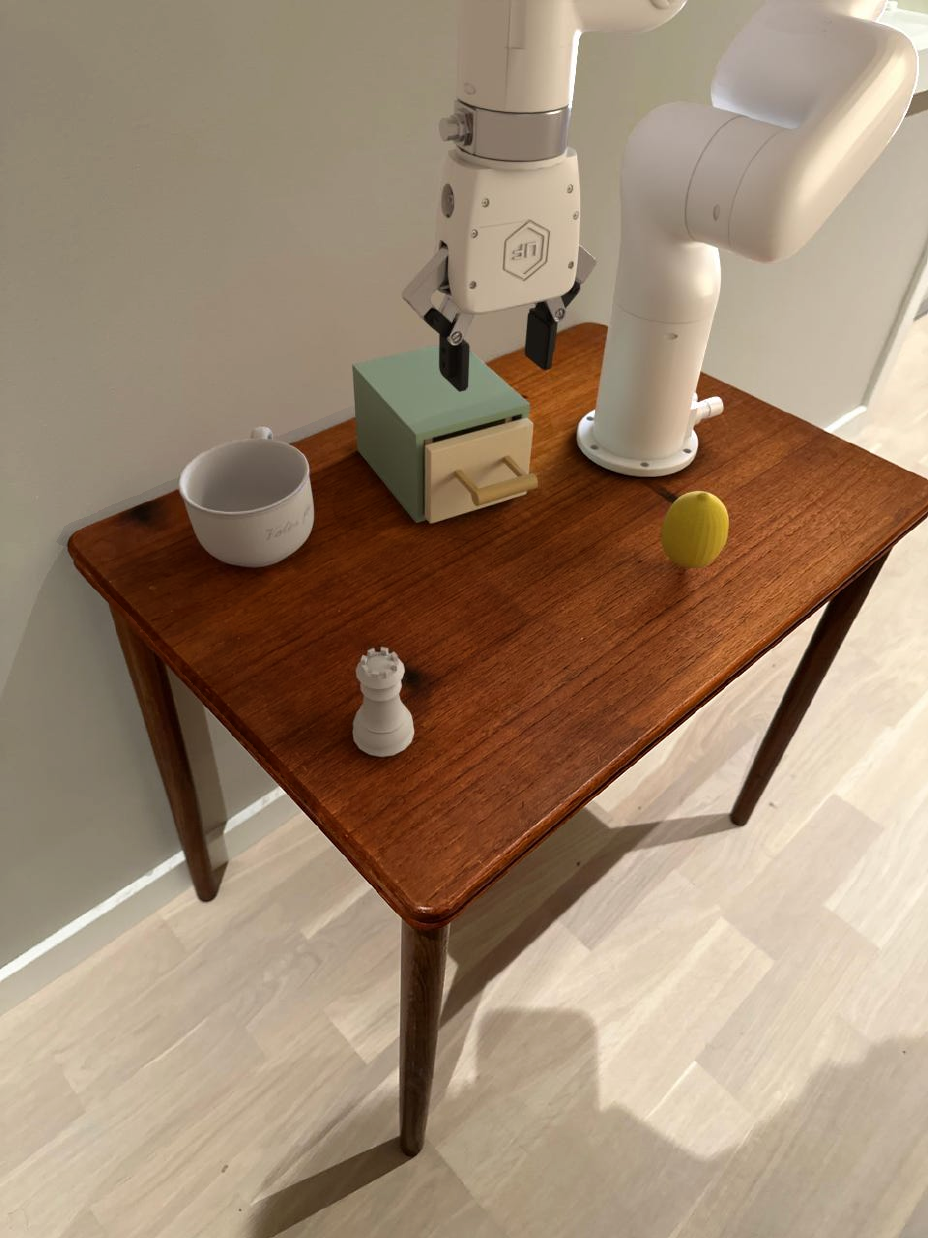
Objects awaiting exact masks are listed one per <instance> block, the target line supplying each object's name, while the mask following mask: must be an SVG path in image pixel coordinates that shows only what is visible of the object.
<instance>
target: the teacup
mask: <svg viewBox="0 0 928 1238" xmlns="http://www.w3.org/2000/svg"><path fill="white" fill-rule="evenodd" d="M177 488H178V492H179V495H180V497H181V499H182V500H183V502H184V505H185V509H186V512H187V515H188V518H189V520H190V521H189V522H190V524H191V526H192V529H193V531H194V534H195V536H196V538H197V540H198V542H199V543H200V545H201V546H202V548H203V549H204V550H205V551H206V552H207V553H208V554H209V555H210V556H211V557H214V559H217V560H219V561H220V562H222V563H225V564H228V565H232V566H239V567H244V568H262V567H266V566H267V567H268V566H271V565H274V564H276V563H277V564H278V562H280V561H281V562H282V561H283V560H285V559H287V558H288V557H289V556H291V555H292V554H294V553H295V552H296V551H297V550H298V549H300V548H301V547H302V546H303V545H304V544H305V542H306V541H307V540H308V538H309V536H310V534H311V532H312V529H313V526H314V521H315V508H314V507H315V506H314V498H313V492H312V491H313V490H312V484H311V478H310V465H309V462H308V459H307V458H306V456H305V454H304V453H302V451H300V450H299V449H298V448H297V447H295V446H294V445H291V444H289V443H287V442H284V441H279V440H275V438H274V434H273V432H272V430H271V429H270V428H269V427H267V426H259V427H255V428H253V429H252V430H251V433H250V438H243V439H236V440H231V441H228V442H224V443H220V444H217V445H215V446H212V447H210V448H208V449H206V450H204V451H202V452H200V453H199V454H197V455H196V456H195V457H193V458H192V459H190V461H189V462H188V463H186V465H185V466H184V467H183V468H182V470H181V472H180V474H179V477H178V481H177Z"/></svg>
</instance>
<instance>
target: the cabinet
mask: <svg viewBox="0 0 928 1238" xmlns="http://www.w3.org/2000/svg"><path fill="white" fill-rule="evenodd" d="M351 369H352V371H351V372H352V383H353V385H352V386H353V399H354V401H353V402H354V414H355V415H354V416H355V431H356V432H355V433H356V449H357V452H358V453H359V454H360V455H361V456H362V458H363V459H364V460H365V461H366V462H367V464H368V465H369V467H370V468H371V469H372V470H373V471H374V473H375V474H376V475H377V477H379V479H380V480H381V481H382V482H383V484H384V485H385V486H386V488H387V489H388V490H389V491H390V493H391V494H392V495H393V496H394V497H395V499H396V500H397V501H398V503H399V504H400V505H401V506H402V508H403V509H404V510H405V512H406V513H407V514H408V515H409V516H410V518H411V519H412V520H413V521H414V523H415V524H419V523H422V522H425V521H428V520H427V519H426V518H425V504H424V441H423V440H426V439H430V438H434V437H437V436H441V435H445V434H449V433H452V432H456V431H460V430H463V429H467V428H471V427H475V426H478V425H482V424H486V423H489V422H493V421H497V420H501V419H504V418H508V417H512V422H513V421H516V420H520V419H524V418H528V419H529V420H530V412H531V411H530V410H531V404H530V403H529V402H528V401H527V400H526V399H525V398H524V397H523V396H521V394H520V393H518V391H516V390H515V389H514V388H513V387H511V386H510V385H509V383H507V382H506V381H505V380H504V379H503V378H501V377H500V375H498V373H496V372H495V371H494V370H493V369H491V367H489V366H488V365H487V364H486V363H485V362H483V360H481V359H480V358H479V357H478V356H476V354H474V352H472V351H471V350H470V353H469V379H468V388H467V389H466V390H465V391H461V392H459V391H458V390H457V389H456V388H455V387H454V386H453V385H451V384H450V383H449V382H448V381H447V380H446V379H445V378H444V377H443V376H442V375H441V373H440V370H439V344H436V345H433V346H428V347H424V348H419V349H415V350H410V351H405V352H402V353H397V354H393V355H389V356H384V357H379V358H376V359H371V360H366V361H362V362H358V363H352V365H351Z"/></svg>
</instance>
